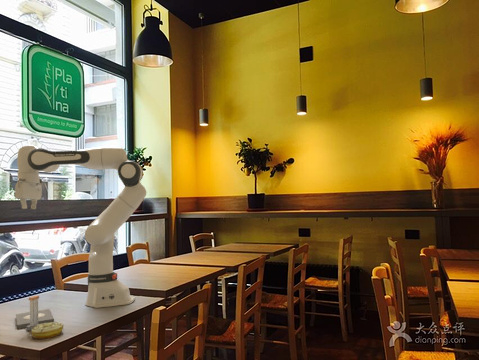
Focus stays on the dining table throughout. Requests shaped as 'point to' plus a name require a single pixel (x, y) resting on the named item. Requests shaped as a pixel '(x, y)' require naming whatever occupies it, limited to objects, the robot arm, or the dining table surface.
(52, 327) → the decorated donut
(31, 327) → the grey stamp
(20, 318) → the slate board
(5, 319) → the dining table surface
